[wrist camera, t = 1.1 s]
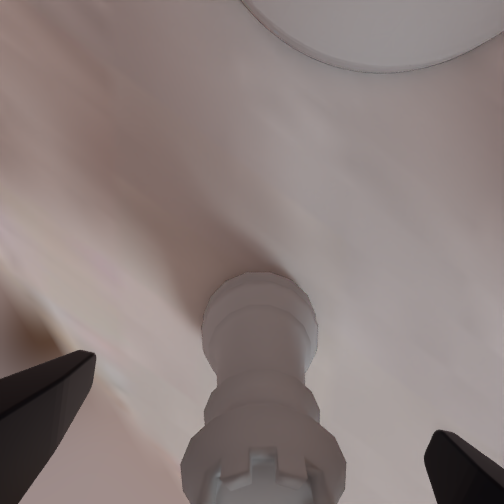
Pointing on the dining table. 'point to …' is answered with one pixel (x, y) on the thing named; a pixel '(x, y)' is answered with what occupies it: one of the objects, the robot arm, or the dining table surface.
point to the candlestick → (381, 30)
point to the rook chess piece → (261, 402)
